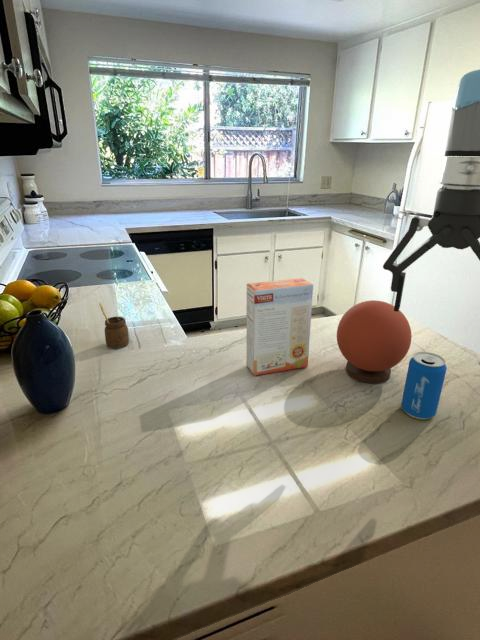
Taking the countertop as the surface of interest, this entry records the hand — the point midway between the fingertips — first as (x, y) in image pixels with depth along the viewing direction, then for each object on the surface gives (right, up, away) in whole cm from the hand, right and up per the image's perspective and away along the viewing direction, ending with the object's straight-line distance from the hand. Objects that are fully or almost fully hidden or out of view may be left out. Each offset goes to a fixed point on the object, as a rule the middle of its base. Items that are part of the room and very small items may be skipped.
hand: (438, 315), depth 70 cm
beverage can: (+1, -19, +10) cm, 22 cm away
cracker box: (-26, -12, +27) cm, 39 cm away
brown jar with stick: (-67, -7, +38) cm, 77 cm away
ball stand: (-4, -13, +25) cm, 28 cm away
